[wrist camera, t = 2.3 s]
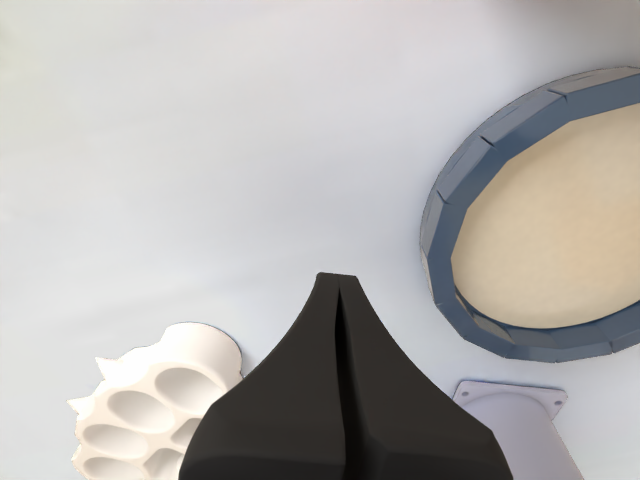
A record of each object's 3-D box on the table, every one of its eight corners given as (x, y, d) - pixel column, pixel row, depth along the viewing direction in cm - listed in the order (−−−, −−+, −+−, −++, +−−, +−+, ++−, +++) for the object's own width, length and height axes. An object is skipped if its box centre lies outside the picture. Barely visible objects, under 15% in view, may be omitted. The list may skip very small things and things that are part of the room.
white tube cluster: (205, 479, 35) (55, 417, 31) (321, 385, 28) (143, 286, 23) (194, 519, 32) (25, 457, 28) (320, 426, 25) (116, 323, 20)
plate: (628, 342, 24) (658, 373, 22) (393, 318, 24) (399, 347, 22) (815, 89, 16) (892, 98, 14) (468, 46, 16) (490, 49, 14)
